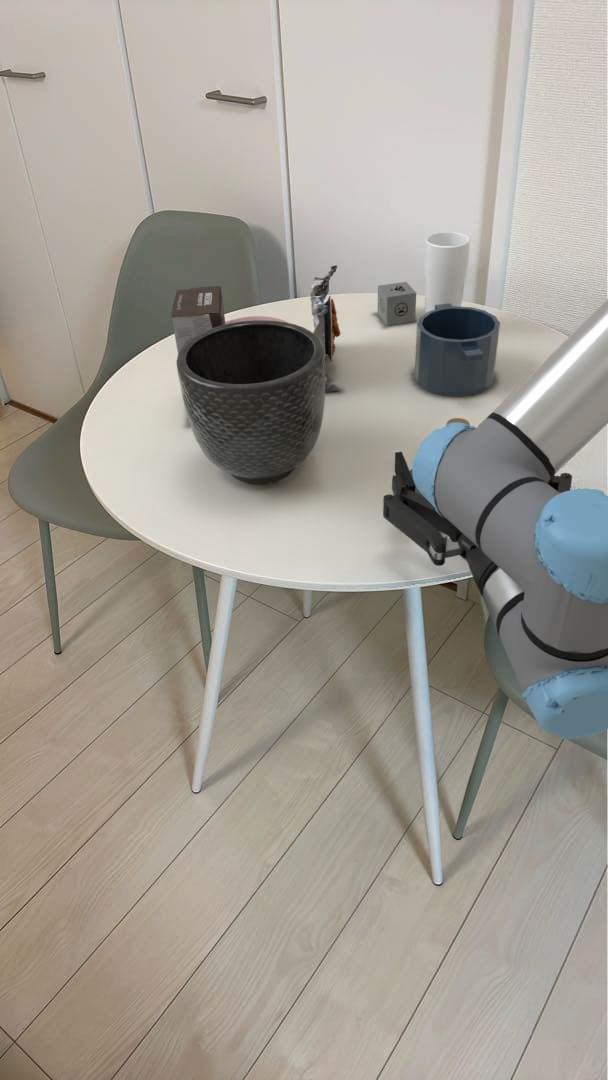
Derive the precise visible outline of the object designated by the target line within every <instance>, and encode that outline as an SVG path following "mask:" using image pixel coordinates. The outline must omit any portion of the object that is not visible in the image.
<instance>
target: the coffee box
mask: <svg viewBox="0 0 608 1080" xmlns="http://www.w3.org/2000/svg"><path fill="white" fill-rule="evenodd" d="M171 308H172V309H171V314H170V317H171V321H172V327H173V333H174V338H175V339H174V340H175V344H176V350H177V355H178V354H179V352H180V350H181V349H182V347H183V346H184V345H185V344H186V343H187V342H188V341H189V340H191V339H192V338H194V337H195V336H197V335H198V334H200V333H203V332H205V331H207V330H209V329H212V328H215V327H218V326H222V325H225V322H226V316H225V308H224V301H223V293H222V286H221V285H214V286H200V287H198V286H197V287H191V288H187V289H185V288H184V289H176V290H175V294H174V299H173V304H172V307H171Z"/></svg>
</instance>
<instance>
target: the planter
mask: <svg viewBox="0 0 608 1080" xmlns="http://www.w3.org/2000/svg"><path fill="white" fill-rule="evenodd" d="M287 322H288V321H286V322H280V321H270V320H253V321H242V322H235V323H230V324H225V325H222V326H218V327H215V328H212V329H209V330H207V331H205V332H203V333H200V334H198V335H197V336H195V337H194V338H192V339H191V340H189V341H188V342H187V343H186V344H185V345H184V346H183V347H182V349H181V350H180V352H179V354H178V353H177V358H176V370H177V376H178V381H179V385H180V386H179V387H180V391H181V397H182V402H183V404H184V407H185V412H186V416H187V418H188V419H187V420H188V422H189V425H190V429H191V431H192V434H193V437H194V439H195V440H196V442H197V445H198V446H199V449H200V450H201V452H202V453H203V454H204V455H205V456H206V458H207V459H208V460H209V461H210V462H211V463H212V464H213V465H215V466H216V467H217V468H219V469H220V470H222V471H224V472H225V473H227V474H230V475H231V476H232V477H233V478H234V479H235V480H238V481H239V482H242V483H246V484H251V485H268V484H273V483H276V482H279V481H281V480H283V479H285V478H286V477H288V476H289V475H291V474H292V473H293V472H294V471H295V469H296V468H297V467H298V466H299V465H300V464H301V463H303V462H304V461H305V460H306V459H307V458H308V457H309V455H310V454H311V452H312V451H313V450H314V448H315V446H316V444H317V442H318V439H319V437H320V434H321V430H322V426H323V420H324V413H325V400H326V392H325V377H326V376H325V375H326V357H325V356H324V349H323V345H322V343H321V341H320V339H319V338H318V337H317V336H316V335H315V334H313V332H312V331H311V330H309V329H307V328H305V327H303V326H300V325H298V324H294V323H290V322H288V323H287Z"/></svg>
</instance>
